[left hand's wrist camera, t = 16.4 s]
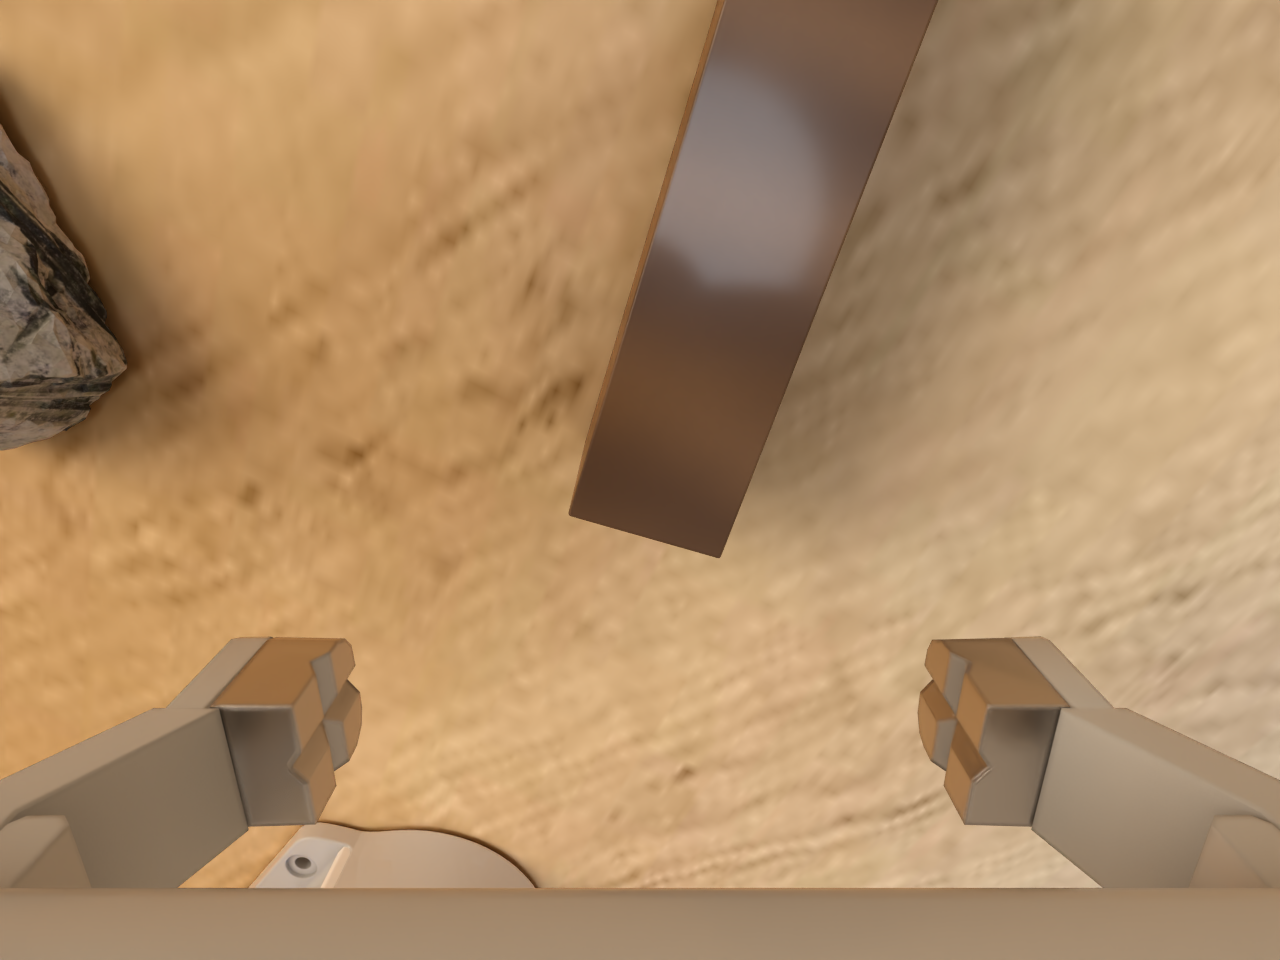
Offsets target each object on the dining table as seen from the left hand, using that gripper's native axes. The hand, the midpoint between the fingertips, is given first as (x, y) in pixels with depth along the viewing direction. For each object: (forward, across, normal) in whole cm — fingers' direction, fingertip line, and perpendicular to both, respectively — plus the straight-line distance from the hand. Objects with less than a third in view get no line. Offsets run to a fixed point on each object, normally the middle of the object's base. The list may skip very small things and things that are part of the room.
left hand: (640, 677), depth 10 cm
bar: (+22, -4, -8) cm, 24 cm away
